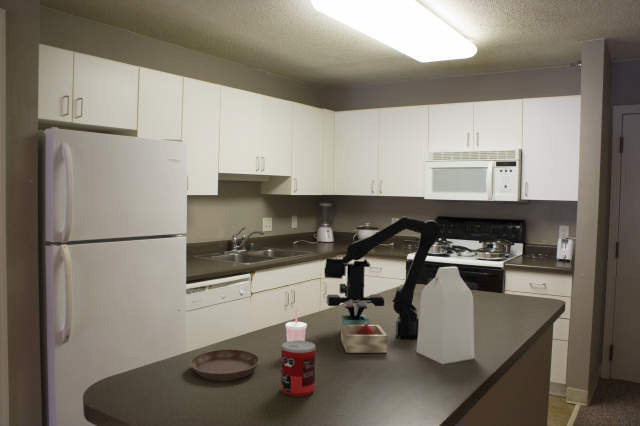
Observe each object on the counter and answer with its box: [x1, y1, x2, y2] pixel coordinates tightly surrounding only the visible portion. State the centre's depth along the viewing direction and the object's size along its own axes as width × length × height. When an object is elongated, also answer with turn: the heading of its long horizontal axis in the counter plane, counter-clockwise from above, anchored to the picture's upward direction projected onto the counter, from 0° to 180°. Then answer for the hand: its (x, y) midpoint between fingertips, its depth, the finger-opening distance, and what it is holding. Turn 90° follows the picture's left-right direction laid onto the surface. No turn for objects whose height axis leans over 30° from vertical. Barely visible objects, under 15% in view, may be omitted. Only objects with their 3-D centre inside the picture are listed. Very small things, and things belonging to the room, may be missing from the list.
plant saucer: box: [190, 349, 260, 382], centre depth 135 cm, size 18×18×3 cm
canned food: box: [280, 340, 317, 397], centre depth 123 cm, size 8×8×11 cm
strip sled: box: [340, 314, 388, 354], centre depth 165 cm, size 12×25×5 cm, turn 6°
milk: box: [415, 266, 475, 365], centre depth 152 cm, size 12×12×26 cm
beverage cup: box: [284, 306, 308, 342], centre depth 149 cm, size 6×6×14 cm
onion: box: [356, 323, 375, 335], centre depth 156 cm, size 6×6×8 cm
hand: (354, 325), depth 174 cm, fingers closed, pressing on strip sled
